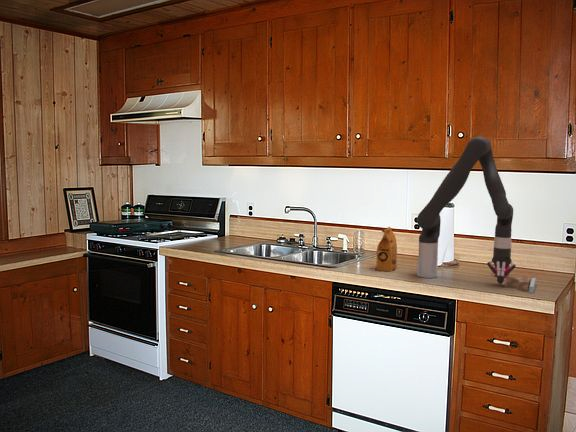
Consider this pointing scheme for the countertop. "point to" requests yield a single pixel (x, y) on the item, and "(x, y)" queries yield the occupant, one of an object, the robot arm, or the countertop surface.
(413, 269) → the countertop surface
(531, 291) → the stop rail
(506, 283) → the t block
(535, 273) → the countertop surface
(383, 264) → the coffee package
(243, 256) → the countertop surface
